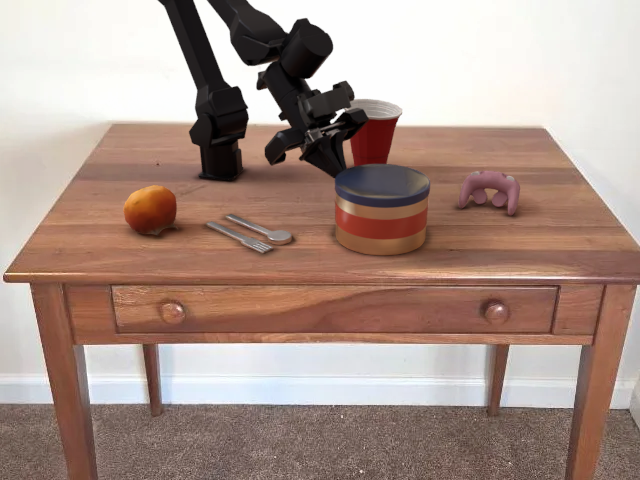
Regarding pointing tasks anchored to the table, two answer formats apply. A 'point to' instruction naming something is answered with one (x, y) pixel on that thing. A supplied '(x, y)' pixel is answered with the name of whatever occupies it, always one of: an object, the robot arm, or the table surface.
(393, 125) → the plastic cup
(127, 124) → the table surface
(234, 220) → the spoon
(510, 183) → the video game controller
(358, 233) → the tin
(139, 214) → the fruit
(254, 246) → the fork
